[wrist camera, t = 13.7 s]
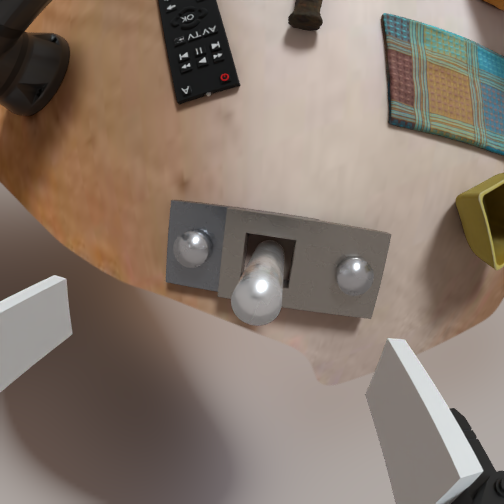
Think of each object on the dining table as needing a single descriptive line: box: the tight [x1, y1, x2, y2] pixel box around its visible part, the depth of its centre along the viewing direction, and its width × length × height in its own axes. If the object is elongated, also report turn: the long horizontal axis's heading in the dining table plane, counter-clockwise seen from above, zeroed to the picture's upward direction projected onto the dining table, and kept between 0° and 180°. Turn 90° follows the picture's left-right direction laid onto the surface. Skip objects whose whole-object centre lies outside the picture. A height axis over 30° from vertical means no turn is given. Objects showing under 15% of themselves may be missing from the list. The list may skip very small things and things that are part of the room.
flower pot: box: [456, 173, 504, 270], centre depth 26 cm, size 9×9×9 cm
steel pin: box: [231, 240, 284, 326], centre depth 28 cm, size 4×4×15 cm
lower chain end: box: [166, 200, 320, 292], centre depth 33 cm, size 17×10×4 cm, turn 83°
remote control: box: [158, 0, 240, 104], centre depth 28 cm, size 8×32×2 cm, turn 13°
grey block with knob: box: [218, 208, 391, 319], centre depth 32 cm, size 18×10×4 cm, turn 83°
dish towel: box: [381, 13, 504, 155], centre depth 26 cm, size 17×23×2 cm
